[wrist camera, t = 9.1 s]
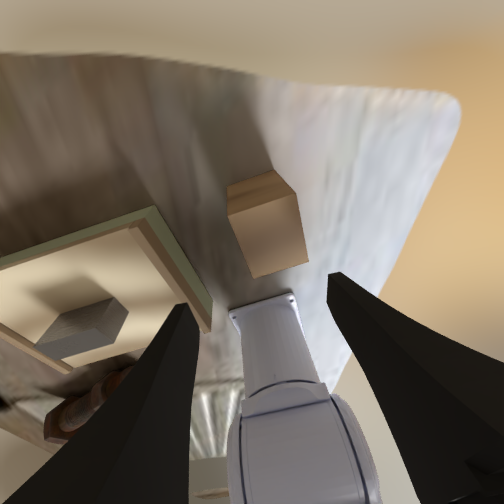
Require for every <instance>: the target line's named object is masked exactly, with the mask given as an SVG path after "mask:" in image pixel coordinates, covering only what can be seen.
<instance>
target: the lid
mask: <svg viewBox="0 0 504 504" xmlns="http://www.w3.org/2000/svg"><path fill="white" fill-rule="evenodd" d="M133 223H134V221H133V222H130V223H127V224H124V225H121V226H118V227H115V228H112V229H109V230H106V231H103V232H100V233H98V234H95V235H92V236H89V237H86V238H83V239H80V240H77V241H74V242H71V243H68V244H65V245H62V246H59V247H56V248H53V249H51V250H48V251H45V252H42V253H39V254H36V255H33V256H30V257H27V258H24V259H21V260H18V261H15V262H12V263H9V264H6V265H4V266H1V267H0V323H2V324H4V325H5V326H7V327H8V328H10V329H12V330H13V331H15V332H17V333H18V334H20V335H21V336H23V337H25V338H26V339H28V340H30V341H31V342H33V343H35V345H34V346H33V348H34V349H36V350H38V351H39V352H41V353H43V354H44V355H46V356H48V357H49V358H51V359H53V360H55V361H57V360H60V359H61V360H62V361H64V362H65V363H67V364H69V365H70V366H72V367H74V368H75V367H79V366H82V365H86V364H89V363H92V362H96V361H99V360H103V359H106V358H110V357H113V356H116V355H120V354H123V353H127V352H130V351H133V350H137V349H140V348H144V347H147V346H149V344H150V343H151V341H152V340H153V338H154V337H155V335H156V334H157V332H158V331H159V329H160V327H161V326H162V324H163V323H164V321H165V320H166V318H167V316H168V315H169V313H170V312H171V310H172V309H173V307H174V306H175V304H180V303H181V302H180V300H179V299H178V298H177V296H176V295H175V294H174V292H173V291H172V290H171V288H170V287H169V286H168V284H167V283H166V281H165V280H164V279H163V277H162V276H161V275H160V273H159V272H158V271H157V269H156V268H155V267H154V265H153V264H152V263H151V261H150V260H149V258H148V257H147V256H146V254H145V253H144V252H143V250H142V249H141V248H140V246H139V245H138V244H137V242H136V241H135V240H134V238H133V237H132V235H131V234H130V233H129V231H128V229H129V228H130V226H131V225H132V224H133ZM200 331H202V330H201V329H200Z"/></svg>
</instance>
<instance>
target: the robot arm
mask: <svg viewBox="0 0 504 504" xmlns="http://www.w3.org/2000/svg"><path fill="white" fill-rule="evenodd" d="M291 299H292V300H291ZM327 304H328V307H329V309H330V312H331V314H332V316H333V318H334V321H335V322H336V324H337V326H338V328H339V329H340V331H341V333H342V335H343V336H344V338H345V340H346V341H347V343H348V345H349V347H350V348H351V350H352V352H353V353H354V355H355V357H356V358H357V360H358V362H359V364H360V366H361V367H362V369H363V371H364V373H365V375H366V377H367V380H368V381H369V384H370V386H371V388H372V390H373V392H374V394H375V397H376V399H377V401H378V403H379V405H380V408H381V410H382V412H383V414H384V417H385V419H386V421H387V423H388V426H389V428H390V430H391V433H392V435H393V438H394V440H395V442H396V445H397V447H398V449H399V452H400V454H401V457H402V459H403V462H404V464H405V467H406V469H407V471H408V474H409V477H410V479H411V482H412V484H413V487H414V489H415V492H416V495H417V497H418V499H419V501H420V503H421V504H504V363H503V362H501V361H498V360H496V359H493V358H491V357H489V356H487V355H484V354H482V353H480V352H477V351H475V350H473V349H470V348H468V347H466V346H464V345H462V344H460V343H458V342H456V341H453V340H451V339H449V338H447V337H445V336H443V335H441V334H439V333H437V332H435V331H433V330H431V329H429V328H428V327H426V326H424V325H422V324H420V323H418V322H416V321H414V320H413V319H411V318H409V317H407V316H406V315H404V314H402V313H400V312H399V311H397V310H396V309H394V308H392V307H391V306H389V305H388V304H386V303H385V302H383V301H381V300H380V299H378V298H377V297H375V296H374V295H372V294H371V293H369V292H368V291H367V290H365V289H364V288H362V287H361V286H359V285H358V284H357V283H355V282H354V281H352V280H351V279H350V278H348V277H347V276H345V275H344V274H343V273H341V272H337V273H332V274H328V287H327ZM229 317H230V319H231V320H232V322H233V324H234V326H235V327H236V329H237V331H238V333H239V334H240V336H241V345H242V358H243V372H244V385H245V398H246V399H244V400H242V401H241V407H242V413H241V414H237V415H236V416H235V417H234V420H233V422H232V424H231V426H230V428H229V432H228V440H227V473H228V487H229V495H230V501H231V504H383V503H382V500H381V496H380V491H379V488H380V487H379V479H378V475H377V471H376V468H375V464H374V461H373V458H372V455H371V452H370V449H369V447H368V444H367V441H366V439H365V436H364V434H363V432H362V429H361V427H360V425H359V423H358V421H357V419H356V417H355V415H354V413H353V411H352V410H351V408H350V406H349V405H348V404H347V402H346V401H344V400H343V399H342V398H340V397H339V396H338V395H337V394H335V393H334V394H330V395H329V392H328V389H327V387H326V384H325V383H321V382H320V380H319V377H318V374H317V371H316V369H315V366H314V363H313V360H312V358H311V355H310V352H309V349H308V346H307V344H306V341H305V334H304V330H303V326H302V323H301V319H300V315H299V311H298V307H297V303H296V299H295V296H294V294H293V293H287V294H284V295H281V296H277V297H274V298H270V299H267V300H264V301H260V302H257V303H254V304H250V305H247V306H244V307H240V308H237V309H233V310H231V311H229ZM199 337H200V327H199V325H198V323H197V321H196V319H195V317H194V315H193V313H192V311H191V309H190V307H189V305H188V303H187V302H185V303H180V304H175V306H174V307H173V309H172V310H171V312H170V313H169V315H168V316H167V318H166V320H165V321H164V323H163V324H162V326H161V327H160V329H159V331H158V332H157V334H156V335H155V337H154V338H153V340H152V341H151V343H150V344H149V346H148V347H147V348H146V350H145V351H144V353H143V354H142V355H141V357H140V358H139V360H138V361H137V362H136V364H135V365H134V366H133V368H132V369H131V370H130V372H129V373H128V374H127V376H126V377H125V378H124V379H123V381H122V382H121V383H120V384H119V385H118V387H117V388H116V389H115V390H114V392H113V393H112V394H111V395H110V396H109V397H108V399H107V400H106V401H105V402H104V403H103V404H102V405H101V406H100V407H99V409H98V410H97V411H96V412H95V413H94V414H93V415H92V416H91V417H90V418H89V420H88V421H87V422H86V423H85V424H84V425H83V426H82V427H81V428H80V429H79V430H78V431H77V432H76V433H75V434H74V435H73V436H72V437H71V438H70V440H69V441H68V442H67V443H66V444H65V445H64V446H63V447H62V448H61V449H60V450H59V451H58V452H57V453H56V454H55V455H54V456H53V457H52V458H50V460H48V461H47V462H46V463H45V465H43V466H42V467H41V468H40V469H39V470H38V471H37V472H36V473H35V474H34V475H33V476H32V477H30V478H29V479H28V480H27V481H26V482H25V483H24V484H23V485H22V486H21V487H20V488H19V489H18V490H17V491H16V492H14V493H13V494H12V495H11V496H10V497H9V498H8V499H7V500H6V501H5V502H4V503H3V504H189V503H188V502H189V498H188V487H189V444H190V421H191V405H192V395H193V388H194V381H195V374H196V367H197V360H198V353H199Z"/></svg>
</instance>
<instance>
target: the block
mask: <svg viewBox="0 0 504 504" xmlns="http://www.w3.org/2000/svg"><path fill="white" fill-rule="evenodd" d="M227 216H228V219H229V221H230V224H231V226H232V229H233V231H234V234H235V236H236V238H237V241H238V243H239V246H240V248H241V251H242V253H243V255H244V258H245V260H246V263H247V265H248V268H249V270H250V272H251V275H252V277H253V279H255V278H258V277H261V276H265V275H268V274H271V273H274V272H277V271H281V270H284V269H287V268H290V267H294V266H297V265H300V264H303V263H306V262H309V260H308V255H307V249H306V244H305V239H304V233H303V228H302V223H301V217H300V212H299V207H298V201H297V196H296V193H295V191H294V190H293V189H292V188H291V187H290V186H289V185H288V184H287V183H286V182H285V181H284V180H283V179H282V178H281V176H280V175H279V174H278V173H277V172H276V171H275V170H272V171H269V172H266V173H263V174H261V175H258V176H255V177H252V178H249V179H246V180H243V181H241V182H238V183H235V184H232V185H229V186H227Z"/></svg>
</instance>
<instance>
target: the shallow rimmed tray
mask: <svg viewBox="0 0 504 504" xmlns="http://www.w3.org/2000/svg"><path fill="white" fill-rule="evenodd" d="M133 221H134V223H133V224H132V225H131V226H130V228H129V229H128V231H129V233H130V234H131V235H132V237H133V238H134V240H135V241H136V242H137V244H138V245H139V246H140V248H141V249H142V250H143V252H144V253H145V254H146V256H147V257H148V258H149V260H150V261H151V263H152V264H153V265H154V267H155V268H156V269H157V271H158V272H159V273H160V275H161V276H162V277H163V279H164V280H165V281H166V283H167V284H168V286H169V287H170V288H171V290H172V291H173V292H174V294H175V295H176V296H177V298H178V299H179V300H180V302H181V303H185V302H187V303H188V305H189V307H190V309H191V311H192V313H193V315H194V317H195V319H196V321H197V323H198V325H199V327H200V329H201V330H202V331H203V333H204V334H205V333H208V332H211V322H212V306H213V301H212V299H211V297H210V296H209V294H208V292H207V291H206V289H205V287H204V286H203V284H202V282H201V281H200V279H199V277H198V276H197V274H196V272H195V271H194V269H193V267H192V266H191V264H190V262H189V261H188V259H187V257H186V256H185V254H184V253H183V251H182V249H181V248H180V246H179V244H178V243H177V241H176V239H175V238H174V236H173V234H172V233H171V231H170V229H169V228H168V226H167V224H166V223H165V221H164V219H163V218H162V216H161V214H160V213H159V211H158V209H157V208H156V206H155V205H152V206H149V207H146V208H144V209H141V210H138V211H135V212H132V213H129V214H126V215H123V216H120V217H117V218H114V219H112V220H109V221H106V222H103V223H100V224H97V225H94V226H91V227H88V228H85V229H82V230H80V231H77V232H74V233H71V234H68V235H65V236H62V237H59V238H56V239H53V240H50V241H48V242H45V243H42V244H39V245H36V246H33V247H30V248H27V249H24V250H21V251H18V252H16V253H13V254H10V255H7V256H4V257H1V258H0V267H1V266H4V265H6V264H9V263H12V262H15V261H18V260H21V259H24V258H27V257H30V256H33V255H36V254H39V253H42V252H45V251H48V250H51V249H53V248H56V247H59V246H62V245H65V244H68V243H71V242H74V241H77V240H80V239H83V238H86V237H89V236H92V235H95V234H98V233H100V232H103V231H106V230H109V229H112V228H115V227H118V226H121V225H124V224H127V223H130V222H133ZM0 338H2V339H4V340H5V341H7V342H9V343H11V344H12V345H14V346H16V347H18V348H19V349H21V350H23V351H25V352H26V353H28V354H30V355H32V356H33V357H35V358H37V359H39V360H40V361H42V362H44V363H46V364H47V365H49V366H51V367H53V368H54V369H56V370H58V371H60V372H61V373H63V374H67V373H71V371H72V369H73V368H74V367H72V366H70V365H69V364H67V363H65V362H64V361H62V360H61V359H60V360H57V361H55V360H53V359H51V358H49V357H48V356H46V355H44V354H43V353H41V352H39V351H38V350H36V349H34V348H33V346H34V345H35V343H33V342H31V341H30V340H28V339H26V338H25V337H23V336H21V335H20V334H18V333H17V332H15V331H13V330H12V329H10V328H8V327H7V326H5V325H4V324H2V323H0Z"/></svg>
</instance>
